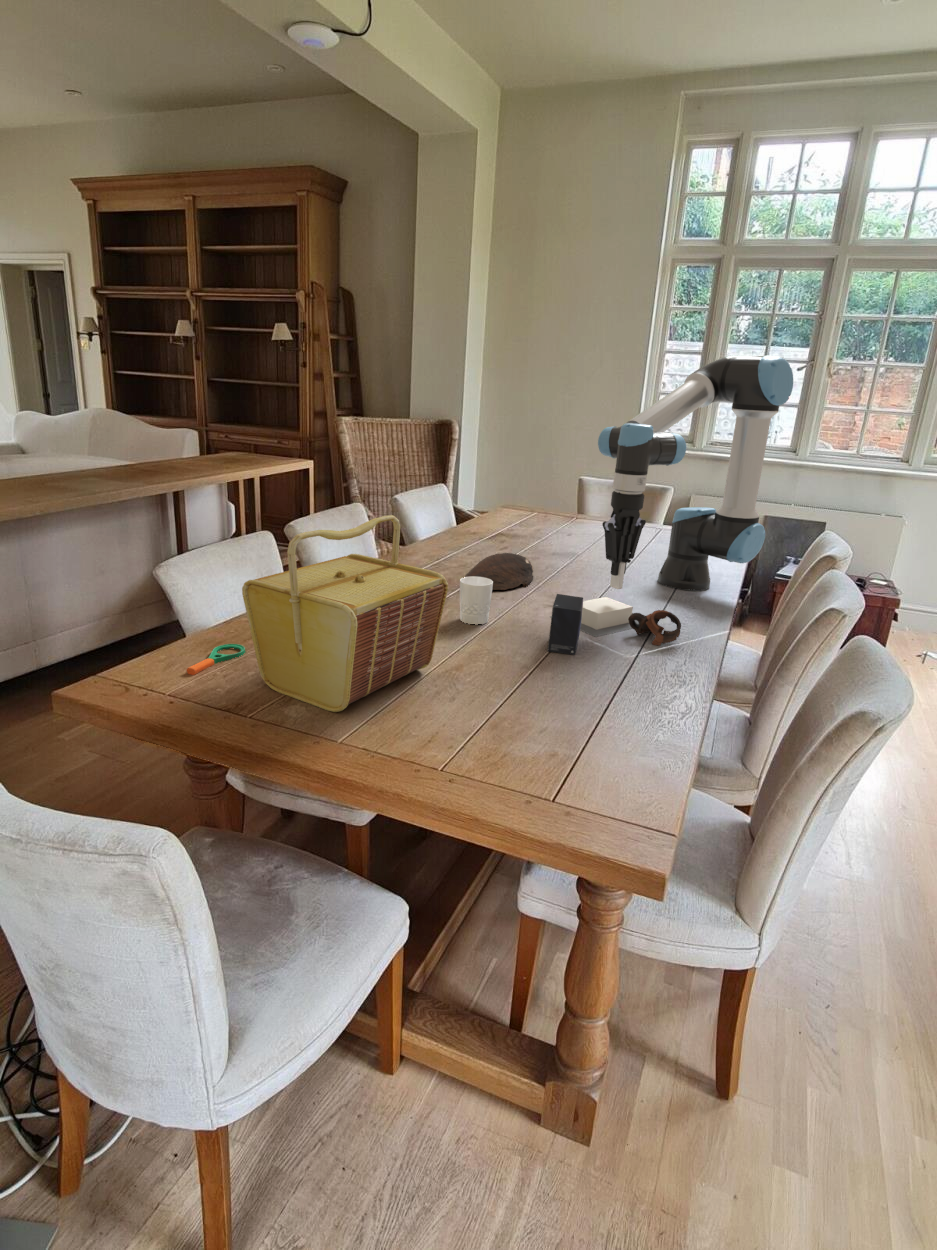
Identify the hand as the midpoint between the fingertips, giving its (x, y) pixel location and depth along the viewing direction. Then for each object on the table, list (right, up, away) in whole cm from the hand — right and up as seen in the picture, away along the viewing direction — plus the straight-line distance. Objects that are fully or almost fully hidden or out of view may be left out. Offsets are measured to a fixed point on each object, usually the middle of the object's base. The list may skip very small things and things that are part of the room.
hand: (616, 587), depth 175 cm
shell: (-27, +4, +34) cm, 44 cm away
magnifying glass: (-86, -17, -36) cm, 95 cm away
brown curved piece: (+6, -13, -10) cm, 17 cm away
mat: (-3, -8, +1) cm, 9 cm away
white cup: (-35, -8, -4) cm, 36 cm away
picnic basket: (-59, -20, -41) cm, 75 cm away
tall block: (+1, -5, +3) cm, 6 cm away
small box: (-15, -14, -17) cm, 27 cm away
